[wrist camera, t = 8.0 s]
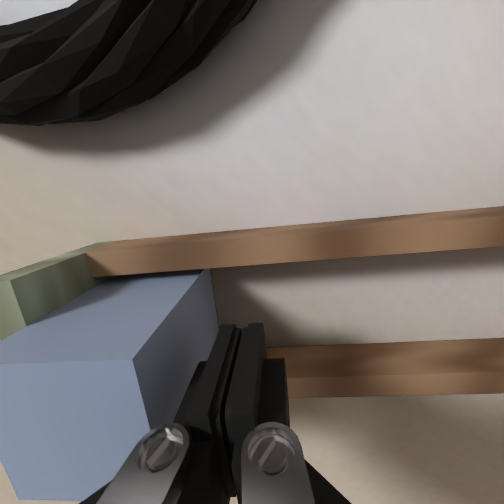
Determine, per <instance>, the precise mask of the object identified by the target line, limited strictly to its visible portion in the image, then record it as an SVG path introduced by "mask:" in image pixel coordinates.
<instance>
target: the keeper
mask: <svg viewBox="0 0 504 504" xmlns="http://www.w3.org/2000/svg"><path fill="white" fill-rule="evenodd" d="M218 331H219V327H218V320H217V314H216V307H215V300H214V294H213V287H212V281H211V274H210V268H207V269H194V270H180V271H167V272H154V273H141V274H127V275H114V276H113V277H111V278H109V279H107V280H106V281H104V282H102V283H100V284H99V285H97V286H95V287H94V288H92V289H90V290H88V291H87V292H85V293H83V294H81V295H80V296H78V297H76V298H75V299H73V300H71V301H69V302H68V303H66V304H64V305H62V306H61V307H59V308H57V309H56V310H54V311H52V312H50V313H49V314H47V315H45V316H43V317H42V318H40V319H38V320H37V321H35V322H33V323H31V324H30V325H28V326H26V327H24V328H23V329H21V330H19V331H17V332H16V333H14V334H12V335H11V336H9V337H7V338H5V339H4V340H2V341H0V460H1V462H2V464H3V466H4V469H5V471H6V473H7V475H8V477H9V480H10V482H11V484H12V486H13V488H14V490H15V493H16V495H17V497H18V499H19V500H64V501H83V500H85V499H86V498H88V497H89V496H90V495H92V494H93V493H95V492H96V491H97V490H99V489H100V488H102V487H103V486H104V485H106V484H107V483H109V482H110V481H111V480H113V478H114V477H115V475H116V474H117V472H118V471H119V469H120V468H121V466H122V465H123V463H124V462H125V460H126V459H127V457H128V456H129V455H130V453H131V452H132V450H133V449H134V447H135V446H136V444H137V443H138V442H139V441H140V439H141V438H142V437H143V436H144V435H145V434H146V433H148V432H149V431H150V430H152V429H153V428H155V427H157V426H159V425H162V424H166V423H173V420H174V418H175V416H176V413H177V411H178V409H179V406H180V404H181V402H182V400H183V397H184V395H185V393H186V390H187V388H188V386H189V383H190V381H191V379H192V376H193V374H194V372H195V369H196V367H197V365H198V363H199V362H200V361H207V360H208V357H209V355H210V352H211V349H212V347H213V344H214V342H215V339H216V337H217V334H218Z"/></svg>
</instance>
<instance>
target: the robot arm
mask: <svg viewBox="0 0 504 504" xmlns="http://www.w3.org/2000/svg"><path fill="white" fill-rule="evenodd" d="M236 495H237V499H238V504H351V503H350V502H349V501H348V500H347V499H346V498H345V497H344V496H343V495H342V494H341V493H340V492H339V491H338V490H336V489H335V488H334V487H333V486H332V485H331V484H330V483H329V482H328V481H327V480H326V479H325V478H324V477H323V476H322V475H321V474H320V473H319V472H317V471H316V470H315V469H314V468H313V467H312V466H311V465H310V464H309V463H308V462H307V461H306V460H305V459H304V455H303V451H302V447H301V444H300V441H299V439H298V436H297V435H296V434H295V433H294V432H293V430H292V429H290V422H289V402H288V387H287V375H286V365H285V358H267V351H266V343H265V334H264V326H263V323H251V324H248V327H247V328H243V331H242V330H241V328H237V327H236V325H235V324H234V325H221V326H220V329H219V331H218V334H217V337H216V339H215V342H214V344H213V347H212V349H211V352H210V355H209V357H208V360H207V361H200V362H199V363H198V365H197V367H196V369H195V372H194V374H193V376H192V379H191V381H190V383H189V386H188V388H187V390H186V393H185V395H184V397H183V400H182V402H181V404H180V406H179V409H178V411H177V413H176V416H175V418H174V420H173V423H166V424H162V425H159V426H157V427H155V428H153V429H152V430H150V431H149V432H148V433H146V434H145V435H144V436H143V437H142V438H141V439H140V441H139V442H138V443H137V444H136V446H135V447H134V449H133V450H132V452H131V453H130V455H129V456H128V457H127V459H126V460H125V462H124V463H123V465H122V466H121V468H120V469H119V471H118V472H117V474H116V475H115V477H114V478H113V480H111V481H110V482H109V483H107V484H106V485H104V486H103V487H102V488H100V489H99V490H97V491H96V492H95V493H93V494H92V495H90V496H89V497H88V498H86V499H85V500H83V501H82V502H81V503H79V504H229V502H230V497H236Z"/></svg>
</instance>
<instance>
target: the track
mask: <svg viewBox="0 0 504 504" xmlns="http://www.w3.org/2000/svg"><path fill="white" fill-rule="evenodd" d="M498 246H504V206H502V207H490V208H479V209H468V210H457V211H446V212H435V213H424V214H413V215H401V216H390V217H379V218H368V219H357V220H346V221H335V222H324V223H312V224H301V225H290V226H279V227H268V228H257V229H246V230H235V231H224V232H212V233H201V234H190V235H179V236H168V237H157V238H146V239H135V240H123V241H112V242H101V243H95V244H92V245H89V246H86V247H83V248H80V249H77V250H74V251H71V252H68V253H65V254H62V255H59V256H56V257H53V258H50V259H47V260H44V261H41V262H38V263H35V264H32V265H29V266H26V267H23V268H20V269H17V270H14V271H11V272H8V273H5V274H3V275H0V341H2V340H4V339H5V338H7V337H9V336H11V335H12V334H14V333H16V332H17V331H19V330H21V329H23V328H24V327H26V326H28V325H30V324H31V323H33V322H35V321H37V320H38V319H40V318H42V317H43V316H45V315H47V314H49V313H50V312H52V311H54V310H56V309H57V308H59V307H61V306H62V305H64V304H66V303H68V302H69V301H71V300H73V299H75V298H76V297H78V296H80V295H81V294H83V293H85V292H87V291H88V290H90V289H92V288H94V287H95V286H97V285H99V284H100V283H102V282H104V281H106V280H107V279H109V278H111V277H113V276H114V275H127V274H141V273H154V272H167V271H180V270H194V269H207V268H220V267H233V266H247V265H260V264H273V263H286V262H300V261H313V260H326V259H339V258H353V257H366V256H379V255H392V254H406V253H419V252H432V251H445V250H459V249H472V248H485V247H498ZM266 351H267V358H285V365H286V375H287V387H288V398H311V397H357V396H402V395H447V394H493V393H504V338H490V339H467V340H443V341H419V342H396V343H372V344H348V345H324V346H301V347H277V348H266Z"/></svg>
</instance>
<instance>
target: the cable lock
mask: <svg viewBox="0 0 504 504" xmlns="http://www.w3.org/2000/svg"><path fill="white" fill-rule="evenodd" d="M256 1H257V0H78V1H77V2H75V3H74V4H72V5H71V6H70V7H68V8H64V9H61V10H57V11H54V12H51V13H47V14H44V15H40V16H37V17H33V18H30V19H27V20H23V21H20V22H16V23H13V24H9V25H2V26H0V123H4V124H18V125H32V126H41V125H45V124H58V123H71V122H84V121H97V120H101V119H104V118H106V117H109V116H111V115H113V114H116V113H118V112H120V111H123V110H125V109H128V108H130V107H132V106H135V105H137V104H139V103H142V102H144V101H146V100H149V99H151V98H153V97H154V96H156V95H157V94H159V93H160V92H161V91H163V90H164V89H166V88H167V87H169V86H170V85H172V84H173V83H175V82H176V81H177V80H179V79H180V78H182V77H183V76H185V75H186V74H188V73H189V72H191V71H192V70H193V69H195V68H196V67H198V66H199V65H200V64H201V62H202V61H203V60H204V59H205V58H206V57H207V56H208V55H209V54H210V53H211V51H212V50H213V49H214V48H215V47H216V46H217V45H218V44H219V43H220V42H221V40H222V39H223V38H224V37H225V36H226V35H227V34H228V33H229V32H230V31H231V29H232V28H234V27H235V26H236V25H238V24H239V23H240V22H241V21H243V20H244V19H245V17H246V16H247V14H248V13H249V11H250V10H251V8H252V7H253V6H254V4H255V3H256Z"/></svg>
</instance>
